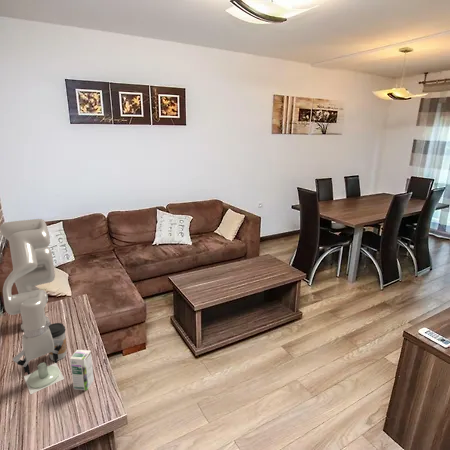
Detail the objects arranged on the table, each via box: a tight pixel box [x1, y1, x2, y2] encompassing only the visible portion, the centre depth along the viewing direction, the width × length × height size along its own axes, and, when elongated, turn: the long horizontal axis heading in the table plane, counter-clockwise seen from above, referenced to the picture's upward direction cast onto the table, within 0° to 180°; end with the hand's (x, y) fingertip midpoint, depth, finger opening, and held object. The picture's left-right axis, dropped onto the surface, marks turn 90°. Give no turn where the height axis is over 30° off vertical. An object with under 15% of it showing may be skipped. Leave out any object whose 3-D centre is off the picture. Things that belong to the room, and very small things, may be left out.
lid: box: [28, 362, 60, 388], centre depth 123 cm, size 11×11×6 cm
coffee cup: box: [48, 322, 67, 361], centre depth 134 cm, size 8×8×15 cm
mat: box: [23, 362, 65, 396], centre depth 123 cm, size 12×12×1 cm
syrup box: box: [69, 349, 95, 391], centre depth 119 cm, size 6×6×14 cm
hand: (42, 366), depth 121 cm, fingers open, 9 cm apart
